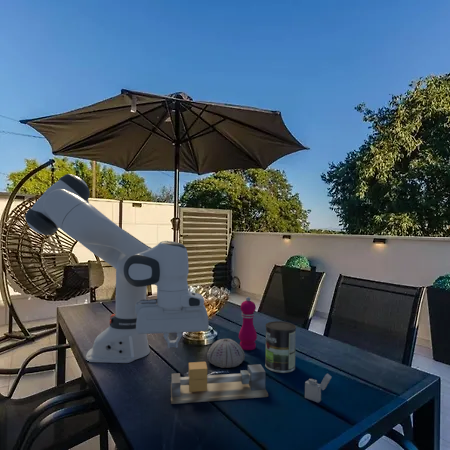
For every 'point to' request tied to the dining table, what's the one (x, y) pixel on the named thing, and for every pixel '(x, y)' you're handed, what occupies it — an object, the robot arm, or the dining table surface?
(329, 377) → the lighter
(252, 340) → the pepper mill
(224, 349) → the sea urchin shell
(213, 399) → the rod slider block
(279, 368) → the coffee can
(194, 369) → the tan wooden block
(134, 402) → the dining table surface
